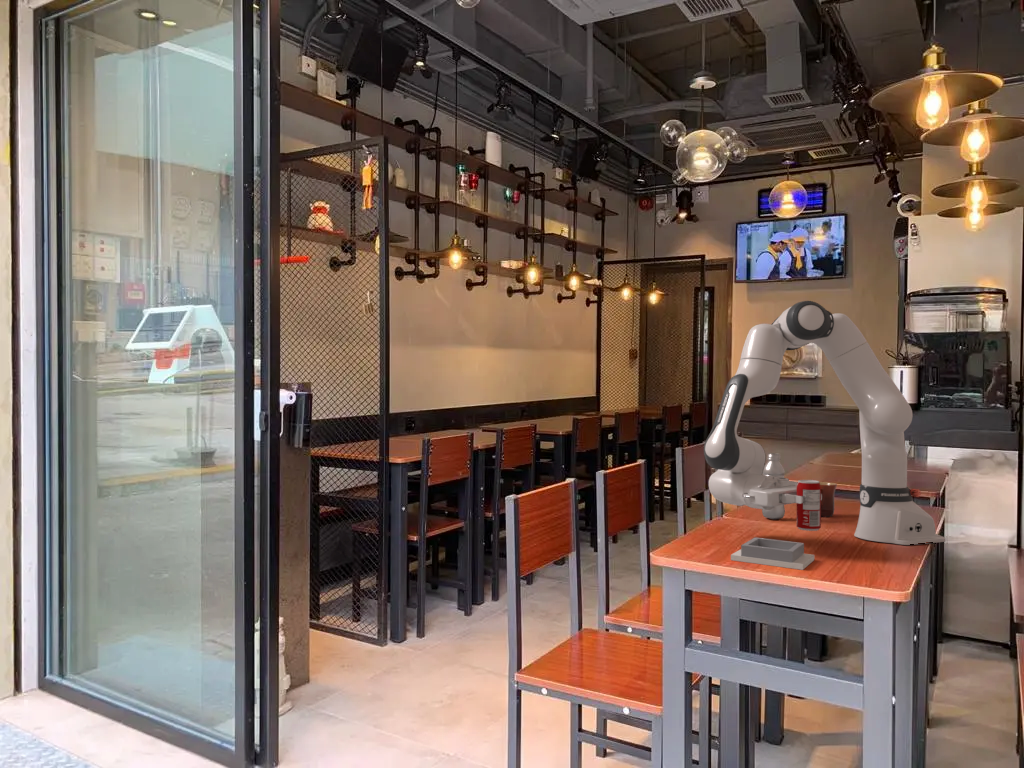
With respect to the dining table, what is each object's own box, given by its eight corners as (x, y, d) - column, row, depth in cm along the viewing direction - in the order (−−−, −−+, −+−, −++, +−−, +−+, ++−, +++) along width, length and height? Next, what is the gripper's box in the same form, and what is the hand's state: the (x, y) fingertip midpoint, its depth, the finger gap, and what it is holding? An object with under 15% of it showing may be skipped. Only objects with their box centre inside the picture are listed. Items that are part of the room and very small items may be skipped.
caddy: (745, 551, 188) (745, 536, 188) (814, 560, 180) (814, 544, 180) (730, 560, 178) (731, 544, 178) (802, 569, 169) (803, 553, 169)
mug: (810, 512, 249) (810, 480, 249) (838, 515, 245) (839, 483, 245) (801, 517, 239) (802, 484, 239) (831, 520, 235) (831, 486, 235)
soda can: (805, 526, 192) (805, 478, 192) (825, 529, 187) (825, 480, 187) (791, 528, 189) (791, 479, 189) (811, 531, 184) (811, 482, 184)
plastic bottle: (787, 521, 232) (788, 455, 232) (765, 520, 232) (766, 454, 233) (780, 517, 239) (781, 453, 239) (758, 517, 239) (759, 452, 239)
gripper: (738, 483, 193) (785, 489, 181) (787, 477, 205) (835, 482, 193) (738, 508, 193) (785, 515, 181) (787, 501, 204) (835, 507, 193)
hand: (811, 498), depth 187 cm, fingers closed on soda can, 6 cm apart
